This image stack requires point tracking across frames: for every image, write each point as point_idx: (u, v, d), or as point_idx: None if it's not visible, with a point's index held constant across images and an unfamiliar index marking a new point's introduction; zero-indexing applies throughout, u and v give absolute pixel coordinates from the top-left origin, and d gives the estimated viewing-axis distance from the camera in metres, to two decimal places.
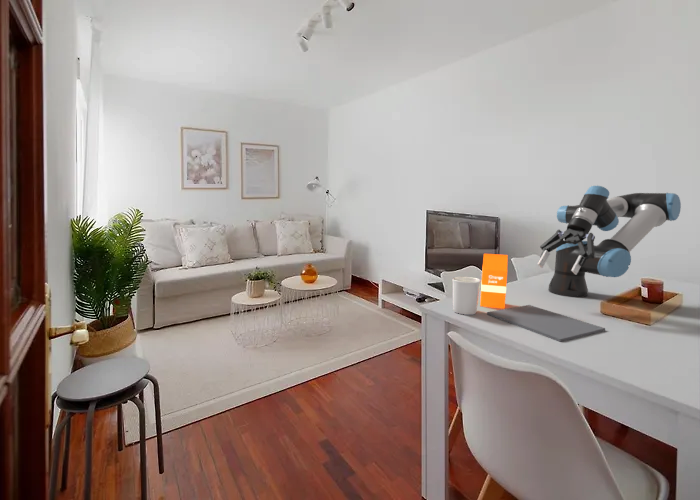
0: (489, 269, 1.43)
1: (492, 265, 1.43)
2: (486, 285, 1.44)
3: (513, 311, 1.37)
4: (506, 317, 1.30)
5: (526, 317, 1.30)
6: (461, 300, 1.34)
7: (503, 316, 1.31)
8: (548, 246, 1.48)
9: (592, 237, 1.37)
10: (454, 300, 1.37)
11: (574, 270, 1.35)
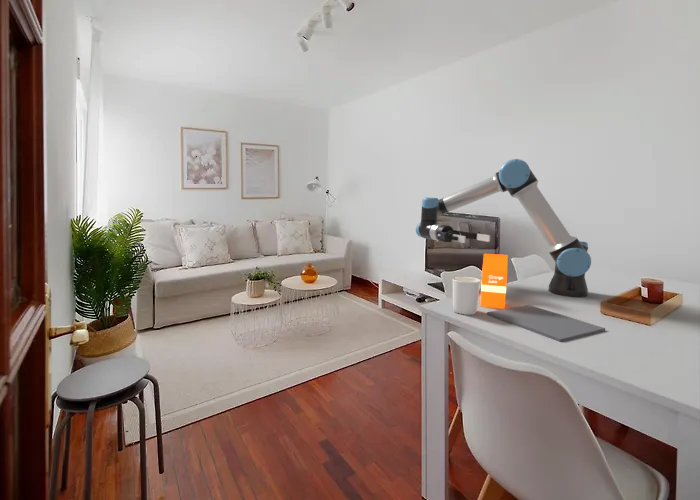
0: (489, 269, 1.43)
1: (492, 265, 1.43)
2: (486, 285, 1.44)
3: (513, 311, 1.37)
4: (506, 317, 1.30)
5: (526, 317, 1.30)
6: (461, 300, 1.34)
7: (503, 316, 1.31)
8: None
9: (439, 235, 1.63)
10: (454, 300, 1.37)
11: (463, 241, 1.50)
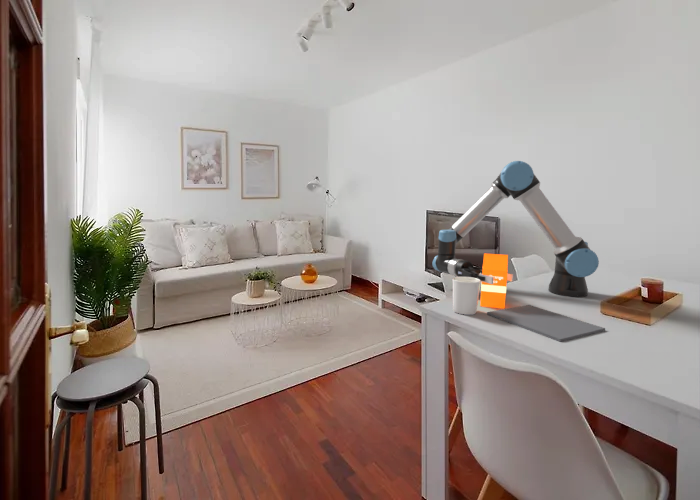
0: (489, 269, 1.43)
1: (493, 265, 1.43)
2: (486, 285, 1.44)
3: (513, 311, 1.37)
4: (506, 317, 1.30)
5: (526, 317, 1.30)
6: (461, 300, 1.34)
7: (503, 316, 1.31)
8: None
9: (460, 273, 1.53)
10: (454, 300, 1.37)
11: (490, 282, 1.40)
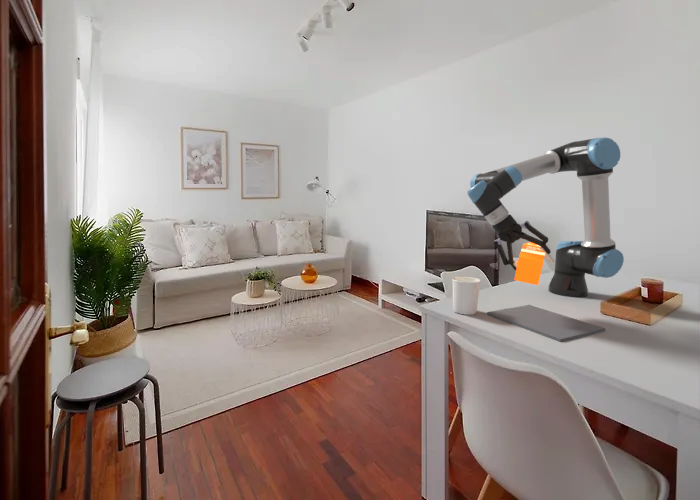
0: None
1: None
2: None
3: (513, 311, 1.37)
4: (506, 317, 1.30)
5: (526, 317, 1.30)
6: (461, 300, 1.34)
7: (503, 316, 1.31)
8: (510, 258, 1.38)
9: (529, 224, 1.32)
10: (454, 300, 1.37)
11: (552, 261, 1.31)
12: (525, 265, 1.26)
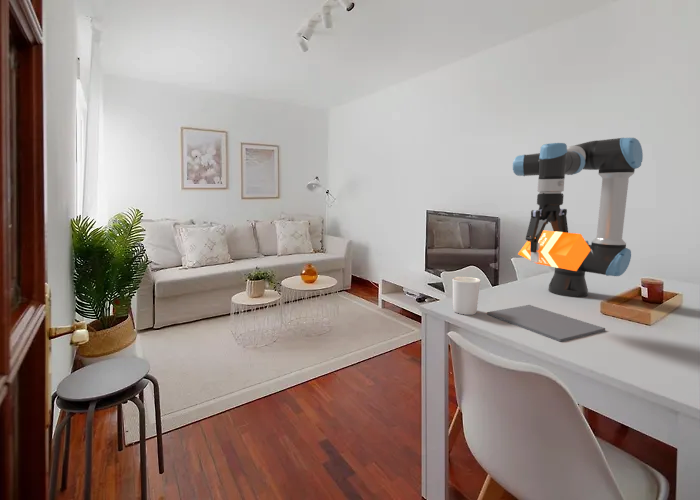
0: None
1: None
2: None
3: (513, 311, 1.37)
4: (506, 317, 1.30)
5: (526, 317, 1.30)
6: (461, 300, 1.34)
7: (503, 316, 1.31)
8: (539, 236, 1.21)
9: None
10: (454, 300, 1.37)
11: None
12: (579, 246, 1.15)
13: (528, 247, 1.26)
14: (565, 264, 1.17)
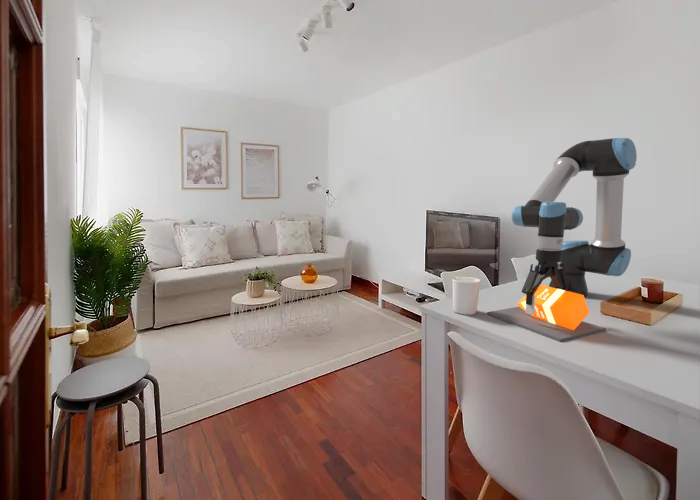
0: None
1: None
2: None
3: (513, 311, 1.37)
4: (506, 317, 1.30)
5: (526, 317, 1.30)
6: (461, 300, 1.34)
7: (503, 316, 1.31)
8: (535, 290, 1.22)
9: None
10: (454, 300, 1.37)
11: None
12: (580, 306, 1.18)
13: None
14: (564, 321, 1.19)
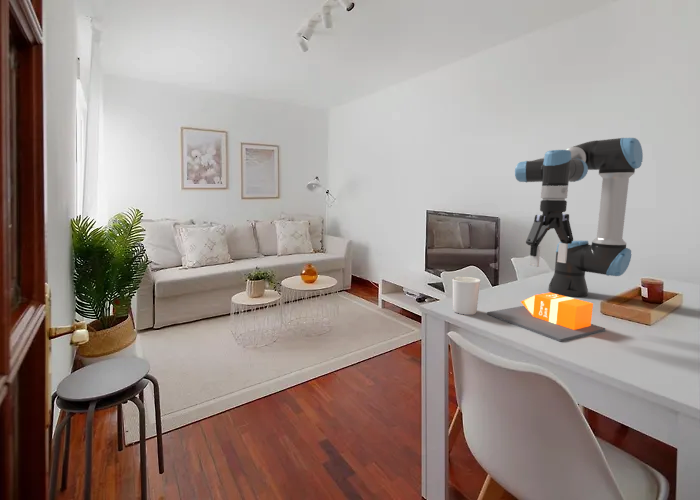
0: None
1: None
2: None
3: (513, 311, 1.37)
4: (506, 317, 1.30)
5: (526, 317, 1.30)
6: (461, 300, 1.34)
7: (503, 316, 1.31)
8: (539, 240, 1.20)
9: None
10: (454, 300, 1.37)
11: None
12: (587, 312, 1.20)
13: (538, 295, 1.30)
14: (567, 318, 1.20)
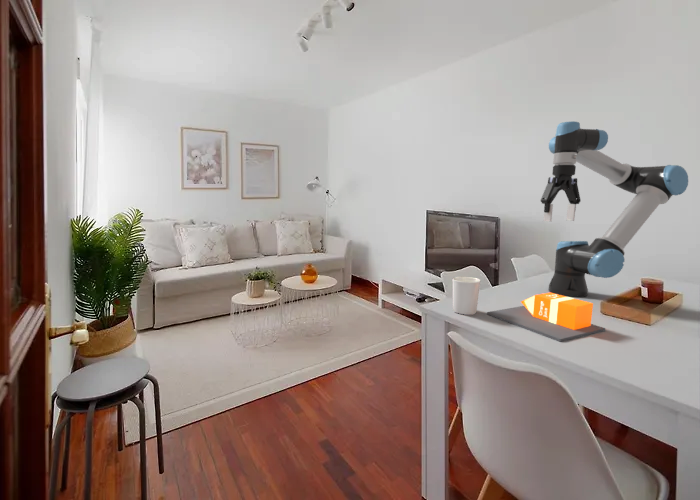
0: None
1: None
2: None
3: (513, 311, 1.37)
4: (506, 317, 1.30)
5: (526, 317, 1.30)
6: (461, 300, 1.34)
7: (503, 316, 1.31)
8: (552, 199, 1.41)
9: None
10: (454, 300, 1.37)
11: None
12: (587, 312, 1.20)
13: (538, 295, 1.30)
14: (567, 318, 1.20)
